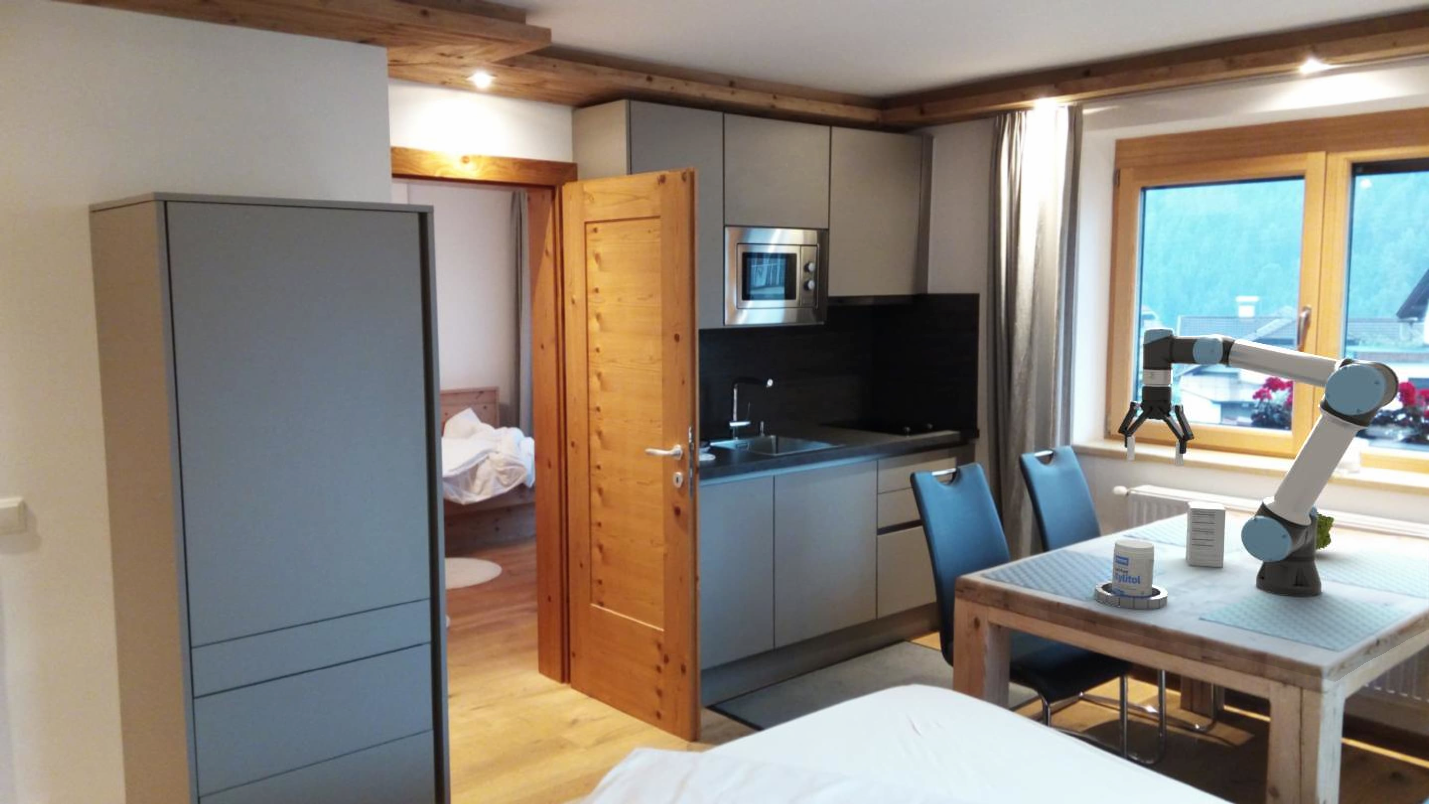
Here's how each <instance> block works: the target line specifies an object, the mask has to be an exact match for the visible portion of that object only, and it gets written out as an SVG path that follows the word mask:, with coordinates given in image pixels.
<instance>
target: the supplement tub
mask: <svg viewBox="0 0 1429 804" xmlns="http://www.w3.org/2000/svg"><path fill="white" fill-rule="evenodd" d="M1112 557H1113V559H1112V560H1113V562H1112V577H1111V578H1112V579H1111V581H1112V592H1111V594H1114V595H1118V596H1124V597H1132V598H1149V597H1152V585H1154V584H1153V583H1154V582H1153V581H1154V566H1155V564H1154V563H1155V561H1154V560H1155V545H1154V544H1153V543H1151V542H1148V541H1145V540H1140V539H1129V538H1128V539H1119V540H1115V542H1114V548H1113V556H1112Z"/></svg>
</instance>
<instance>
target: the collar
mask: <svg viewBox="0 0 1429 804" xmlns="http://www.w3.org/2000/svg"><path fill="white" fill-rule="evenodd" d="M1108 592H1109V593H1108ZM1168 594H1169V593H1168V591H1167V590H1165V589H1164V588H1162V587H1160V586H1157V585H1154V584H1152V597H1149V598H1132V597H1124V596H1118V595H1114V594H1112V580H1109V581H1108V580H1107V581H1103V582H1099V583H1097V584H1096V585H1095V587H1094V598H1095V597H1096V598H1097V599H1098V600H1100V601H1102V602H1104V603H1107V604H1110V605H1109V606H1111V605H1114V606H1113V607H1115V606H1120V607H1126V608H1125V609H1128V608H1131V609H1130V610H1145V609H1148V610H1156V609H1155V608H1157V609H1160V608H1164V607H1166V606H1167V604H1168V596H1169V595H1168ZM1096 598H1095V599H1096ZM1097 599H1096V600H1097ZM1098 600H1097V601H1098ZM1100 601H1099V602H1100ZM1102 602H1101V603H1102ZM1104 603H1103V604H1104ZM1107 604H1106V605H1107ZM1120 607H1119V608H1120Z"/></svg>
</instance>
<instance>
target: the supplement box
mask: <svg viewBox="0 0 1429 804" xmlns="http://www.w3.org/2000/svg"><path fill="white" fill-rule="evenodd" d="M1226 511H1227V510H1226V508H1225V507H1224V506H1223V504H1222V503H1210V502H1207V503H1206V502H1194V501H1193V502H1192V501H1191V502H1189V501H1188V502H1187V512H1186V513H1187V518H1186V519H1187V520H1186V521H1187V524H1186V525H1187V526H1186V538H1185V539H1186V541H1185V542H1186V544H1185V560H1186V562H1187V564H1188V566H1195V565H1196V566H1197V567H1209V566H1210V567H1212V568H1222V567H1223V568H1224V561H1225V560H1224V553H1225V535H1226V531H1225V529H1226V528H1225V527H1226ZM1196 566H1195V567H1196ZM1210 567H1209V568H1210Z"/></svg>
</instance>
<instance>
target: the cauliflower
mask: <svg viewBox="0 0 1429 804" xmlns="http://www.w3.org/2000/svg"><path fill="white" fill-rule="evenodd" d="M1317 515H1318V520H1317V536H1316V551H1318V550H1321V549H1325V548H1327V547H1328V546H1329V545H1330V544H1331V543H1332V538H1331V533H1330V531H1331V530H1332V528H1333V527H1334V526H1333V524H1334V521H1335V518H1334V517H1332V516H1326V515H1324V514H1322V513H1319V511H1317Z"/></svg>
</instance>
